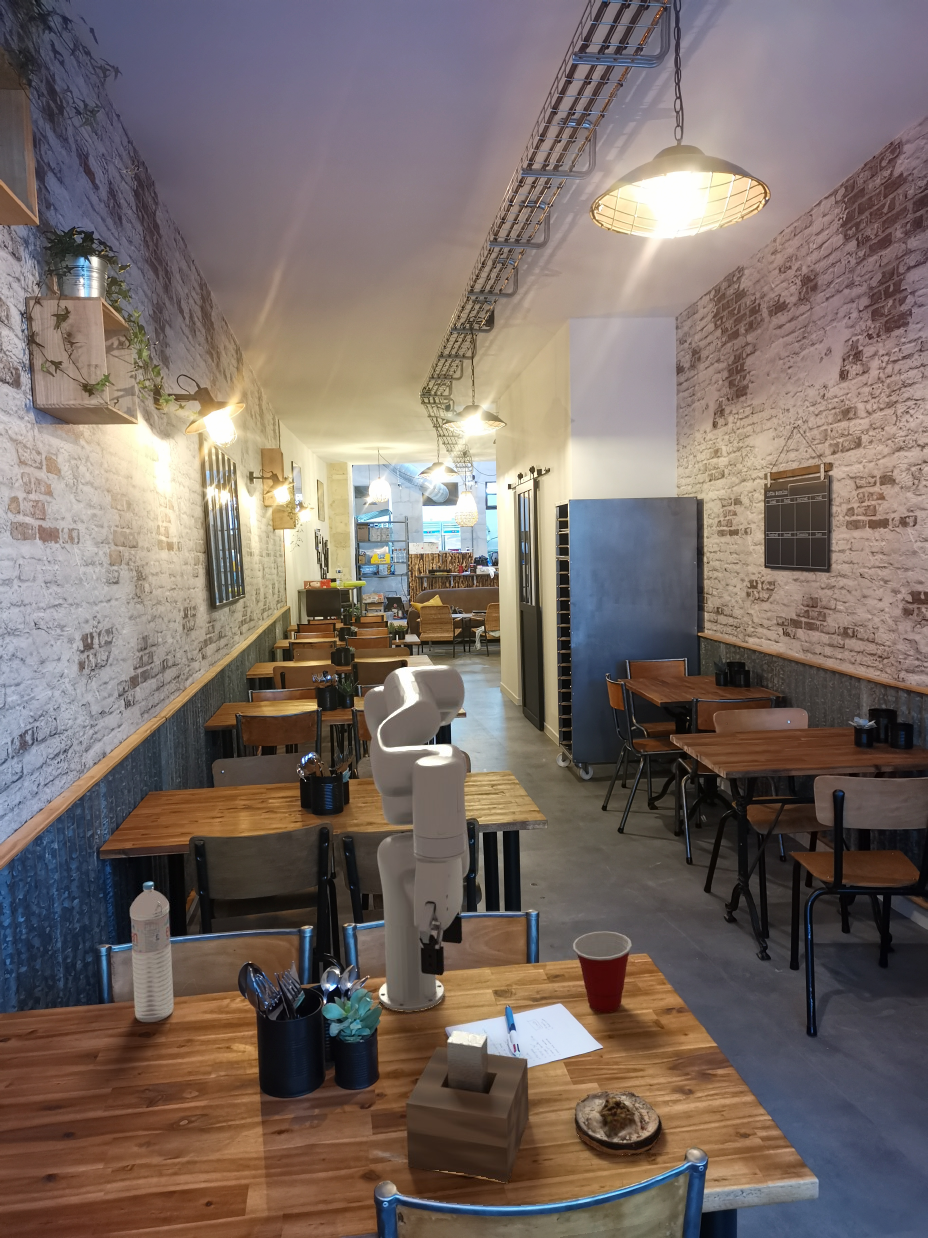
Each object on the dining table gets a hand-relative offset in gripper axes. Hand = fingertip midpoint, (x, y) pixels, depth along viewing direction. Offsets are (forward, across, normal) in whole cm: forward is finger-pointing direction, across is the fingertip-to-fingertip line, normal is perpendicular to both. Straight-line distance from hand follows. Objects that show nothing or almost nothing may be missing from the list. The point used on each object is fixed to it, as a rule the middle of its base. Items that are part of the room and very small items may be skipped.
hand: (442, 957), depth 123 cm
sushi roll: (+26, -4, +25) cm, 36 cm away
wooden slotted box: (+25, +4, +5) cm, 26 cm away
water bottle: (+26, -18, -62) cm, 70 cm away
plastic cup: (+26, -38, +19) cm, 50 cm away
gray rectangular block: (+20, +3, +4) cm, 21 cm away
